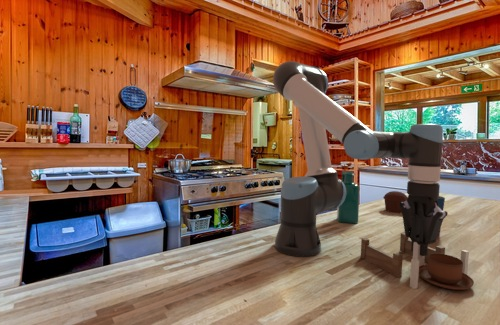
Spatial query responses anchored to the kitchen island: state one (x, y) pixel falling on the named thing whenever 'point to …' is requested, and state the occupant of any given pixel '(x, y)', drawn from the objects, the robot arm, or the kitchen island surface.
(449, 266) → the cup and saucer
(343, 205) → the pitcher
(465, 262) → the posts
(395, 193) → the muffin
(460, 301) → the kitchen island surface
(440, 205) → the cup
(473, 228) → the kitchen island surface
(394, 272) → the brown wooden rail pair
